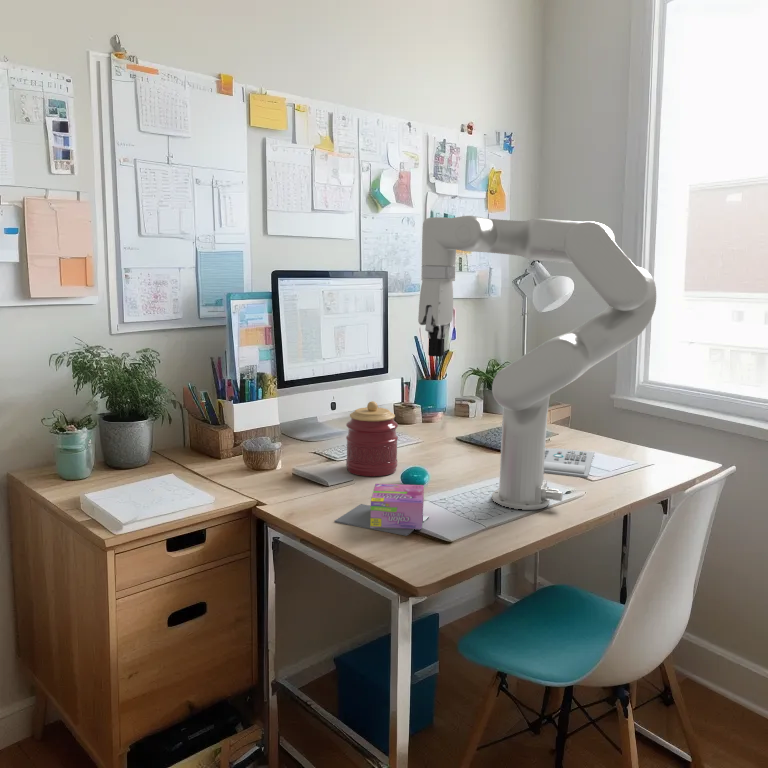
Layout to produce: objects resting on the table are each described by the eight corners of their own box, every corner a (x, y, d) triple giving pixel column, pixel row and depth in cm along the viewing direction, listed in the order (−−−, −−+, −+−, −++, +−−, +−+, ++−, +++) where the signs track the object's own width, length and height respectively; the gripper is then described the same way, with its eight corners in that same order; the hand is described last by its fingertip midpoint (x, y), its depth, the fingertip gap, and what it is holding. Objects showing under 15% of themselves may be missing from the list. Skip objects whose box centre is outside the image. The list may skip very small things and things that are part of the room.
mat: (429, 517, 150) (429, 516, 150) (406, 535, 140) (406, 534, 140) (360, 505, 157) (361, 503, 157) (334, 522, 147) (334, 520, 147)
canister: (346, 477, 177) (346, 406, 174) (345, 462, 190) (345, 396, 187) (399, 477, 178) (400, 406, 175) (395, 462, 190) (396, 396, 187)
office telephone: (589, 470, 179) (508, 461, 186) (588, 480, 180) (507, 471, 186) (595, 447, 201) (522, 440, 207) (594, 456, 201) (521, 448, 208)
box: (424, 484, 153) (422, 503, 141) (423, 510, 154) (422, 530, 142) (375, 482, 154) (369, 500, 142) (374, 508, 155) (369, 528, 143)
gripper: (435, 273, 170) (433, 351, 173) (409, 274, 157) (407, 358, 160) (465, 274, 167) (462, 353, 170) (441, 275, 154) (439, 361, 157)
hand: (436, 355), depth 165 cm, fingers closed
